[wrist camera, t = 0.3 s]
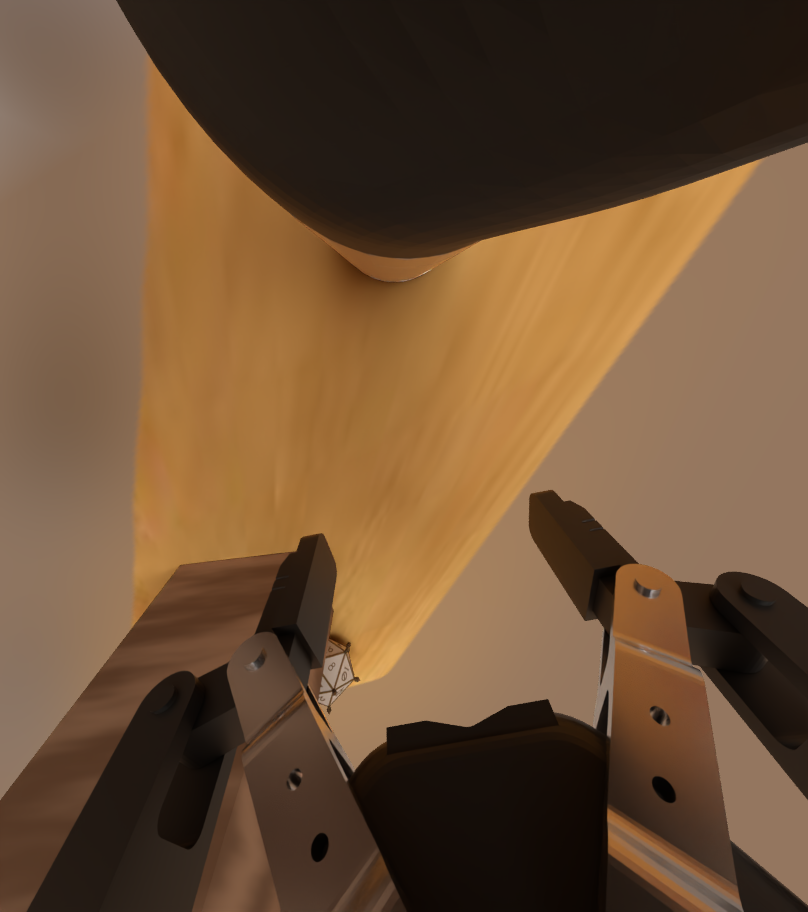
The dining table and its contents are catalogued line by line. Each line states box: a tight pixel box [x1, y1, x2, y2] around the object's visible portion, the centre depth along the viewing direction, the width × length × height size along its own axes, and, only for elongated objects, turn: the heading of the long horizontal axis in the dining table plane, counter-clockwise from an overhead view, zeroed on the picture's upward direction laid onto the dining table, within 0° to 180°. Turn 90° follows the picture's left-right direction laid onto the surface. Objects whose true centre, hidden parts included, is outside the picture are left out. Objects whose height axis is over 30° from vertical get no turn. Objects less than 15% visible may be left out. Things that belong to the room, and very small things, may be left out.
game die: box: [318, 639, 360, 714], centre depth 41 cm, size 9×8×10 cm
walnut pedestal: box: [0, 551, 334, 912], centre depth 25 cm, size 12×16×32 cm
